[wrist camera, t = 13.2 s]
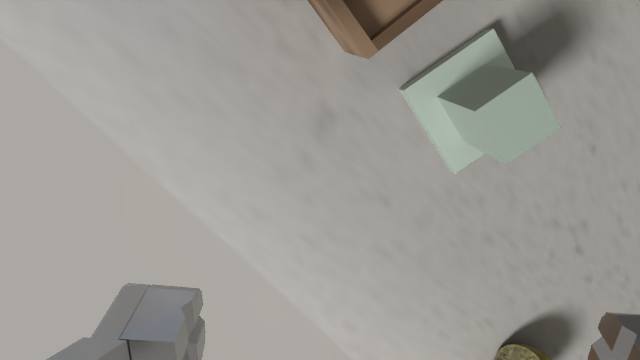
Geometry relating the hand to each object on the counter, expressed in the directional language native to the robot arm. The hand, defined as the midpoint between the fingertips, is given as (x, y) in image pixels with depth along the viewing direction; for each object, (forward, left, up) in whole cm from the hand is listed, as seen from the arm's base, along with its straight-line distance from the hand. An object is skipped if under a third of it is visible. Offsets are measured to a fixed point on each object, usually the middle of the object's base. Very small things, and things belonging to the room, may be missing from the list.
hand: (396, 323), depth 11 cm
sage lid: (+6, +9, -24) cm, 26 cm away
